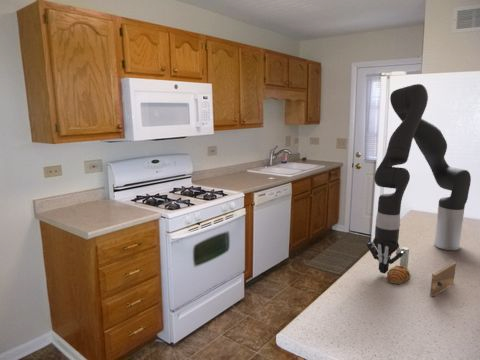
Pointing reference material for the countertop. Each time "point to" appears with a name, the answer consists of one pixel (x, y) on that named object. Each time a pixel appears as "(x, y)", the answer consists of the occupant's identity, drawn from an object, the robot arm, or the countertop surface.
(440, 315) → the countertop surface
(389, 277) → the pastry
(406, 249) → the grey rectangular block
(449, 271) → the door
